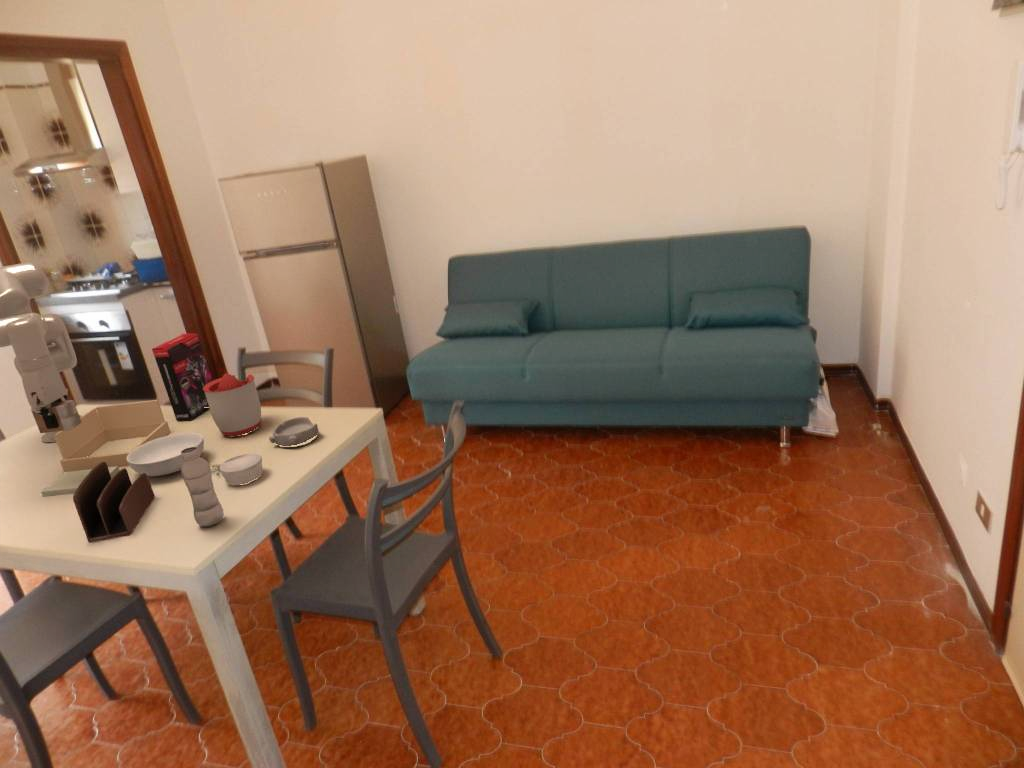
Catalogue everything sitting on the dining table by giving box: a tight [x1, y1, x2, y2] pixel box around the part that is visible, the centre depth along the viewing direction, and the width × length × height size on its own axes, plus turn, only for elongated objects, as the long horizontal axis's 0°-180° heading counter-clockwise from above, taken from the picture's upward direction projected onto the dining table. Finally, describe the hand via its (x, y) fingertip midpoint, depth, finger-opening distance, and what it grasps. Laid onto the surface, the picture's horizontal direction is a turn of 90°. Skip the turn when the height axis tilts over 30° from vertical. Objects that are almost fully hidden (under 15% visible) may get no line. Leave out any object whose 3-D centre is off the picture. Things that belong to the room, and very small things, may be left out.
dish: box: [268, 416, 319, 446], centre depth 212 cm, size 14×14×5 cm
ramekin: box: [219, 452, 264, 486], centre depth 190 cm, size 11×11×5 cm
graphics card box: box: [151, 332, 213, 422], centre depth 243 cm, size 17×7×27 cm, turn 168°
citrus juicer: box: [203, 372, 262, 438], centre depth 223 cm, size 16×17×20 cm
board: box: [40, 466, 121, 497], centre depth 201 cm, size 12×16×2 cm
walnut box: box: [30, 399, 82, 434], centre depth 194 cm, size 5×9×7 cm, turn 90°
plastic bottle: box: [180, 447, 225, 528], centre depth 166 cm, size 6×7×20 cm
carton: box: [54, 399, 171, 473], centre depth 219 cm, size 24×22×12 cm
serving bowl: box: [126, 432, 205, 477], centre depth 203 cm, size 21×21×7 cm
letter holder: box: [72, 462, 156, 543], centre depth 175 cm, size 10×20×14 cm, turn 10°
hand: (59, 423), depth 195 cm, fingers closed on walnut box, 5 cm apart
